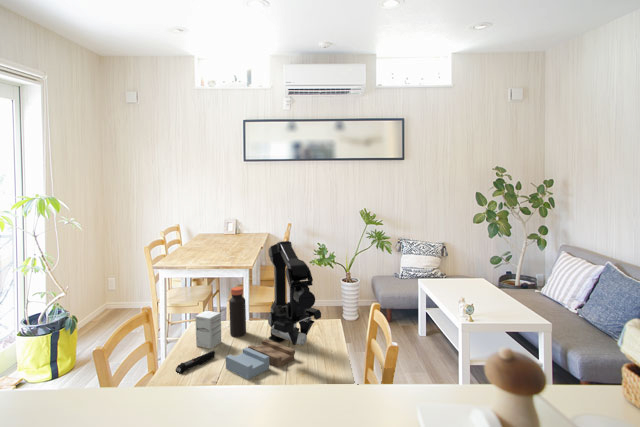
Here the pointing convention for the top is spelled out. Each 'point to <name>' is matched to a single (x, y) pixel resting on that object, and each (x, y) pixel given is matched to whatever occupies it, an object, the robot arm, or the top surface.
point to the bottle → (237, 312)
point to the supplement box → (208, 329)
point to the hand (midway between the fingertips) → (298, 343)
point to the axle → (300, 340)
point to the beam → (275, 352)
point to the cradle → (247, 363)
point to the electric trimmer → (195, 362)
